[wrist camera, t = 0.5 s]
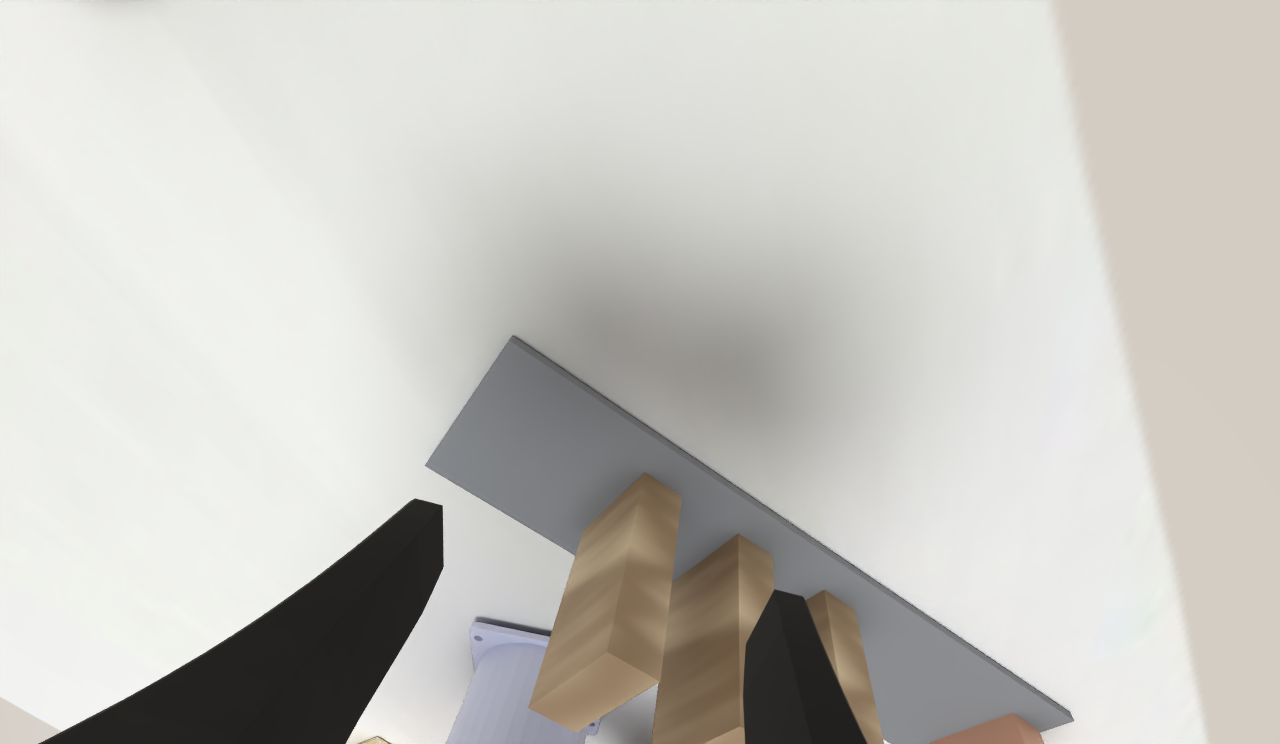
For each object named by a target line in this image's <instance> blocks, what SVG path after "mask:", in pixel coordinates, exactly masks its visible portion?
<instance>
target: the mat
mask: <svg viewBox="0 0 1280 744" xmlns="http://www.w3.org/2000/svg"><path fill="white" fill-rule="evenodd" d="M425 466H426V467H428V468H429V469H431V470H433V471H435V472H436V473H438V474H440V475H441V476H443V477H445V478H446V479H448V480H450V481H451V482H453V483H455V484H456V485H458V486H460V487H461V488H463V489H465V490H466V491H468V492H470V493H471V494H473V495H475V496H476V497H478V498H480V499H481V500H483V501H485V502H487V503H488V504H490V505H492V506H493V507H495V508H497V509H498V510H500V511H502V512H503V513H505V514H507V515H508V516H510V517H512V518H513V519H515V520H517V521H518V522H520V523H522V524H523V525H525V526H527V527H528V528H530V529H532V530H534V531H535V532H537V533H539V534H540V535H542V536H544V537H545V538H547V539H549V540H550V541H552V542H554V543H555V544H557V545H559V546H560V547H562V548H564V549H565V550H567V551H569V552H570V553H572V554H574V555H575V556H576V553H577V549H578V546H579V543H580V540H581V537H582V533H583V531H584V530H585V529H586V528H587V527H588V526H589V525H590V524H591V523H592V522H593V521H594V520H595V519H596V518H597V517H598V516H599V515H600V514H602V513H603V512H604V511H605V510H606V509H607V508H608V507H609V506H610V505H611V504H612V503H613V502H614V501H615V500H616V499H617V498H618V497H619V496H620V495H621V494H623V493H624V492H625V491H626V490H627V489H628V488H629V487H630V486H631V485H632V484H633V483H634V482H635V481H636V480H637V479H638V478H639V477H640V476H641V475H642V474H643V473H647V474H649V475H650V476H652V477H653V478H655V479H656V480H658V481H659V482H661V483H662V484H664V485H665V486H667V487H668V488H670V489H671V490H673V491H675V492H676V493H678V494H679V495H681V496H682V500H681V508H680V517H679V525H678V534H677V543H676V551H675V560H674V568H673V577H672V582H674V581H675V580H676V579H678V578H679V577H680V576H682V575H683V574H685V573H686V572H687V571H689V570H690V569H691V568H693V567H694V566H695V565H697V564H698V563H699V562H701V561H702V560H703V559H705V558H706V557H707V556H709V555H710V554H711V553H713V552H714V551H715V550H717V549H718V548H719V547H721V546H722V545H723V544H725V543H726V542H727V541H729V540H730V539H732V538H733V537H734V536H736V535H737V534H738V533H739V534H740V535H742V536H743V537H745V538H746V539H748V540H749V541H751V542H752V543H754V544H755V545H757V546H759V547H760V548H762V549H763V550H765V551H766V552H768V553H769V554H771V555H772V559H773V572H774V586H775V589H776V590H780V591H784V592H788V593H792V594H796V595H800V596H803V597H804V599H805V600H807V599H809V598H811V597H812V596H814V595H816V594H817V593H819V592H821V591H822V590H826V591H827V592H829V593H830V594H832V595H833V596H835V597H836V598H838V599H839V600H841V601H843V602H844V603H846V604H847V605H849V606H850V607H852V608H853V609H855V611H856V616H857V621H858V625H859V630H860V635H861V639H862V644H863V649H864V653H865V658H866V663H867V667H868V672H869V677H870V681H871V686H872V691H873V695H874V700H875V705H876V709H877V714H878V719H879V723H880V728H881V733H882V738H883V739H884V740H886V741H888V742H889V743H891V744H930V742H932V741H935V740H938V739H941V738H944V737H946V736H949V735H952V734H955V733H958V732H960V731H963V730H966V729H969V728H971V727H974V726H977V725H980V724H983V723H985V722H988V721H991V720H994V719H997V718H999V717H1002V716H1005V715H1008V714H1010V713H1014V714H1015V715H1017V716H1018V717H1020V718H1021V719H1023V720H1024V721H1026V722H1027V723H1029V724H1030V725H1032V726H1034V727H1035V728H1037V729H1038V731H1039V733H1040V732H1043V731H1046V730H1049V729H1052V728H1055V727H1058V726H1061V725H1064V724H1067V723H1070V722H1073V721H1074V719H1073V717H1072V715H1071V713H1070V712H1069V711H1067V710H1066V709H1064V708H1063V707H1061V706H1060V705H1058V704H1057V703H1055V702H1054V701H1052V700H1051V699H1049V698H1048V697H1046V696H1045V695H1043V694H1042V693H1040V692H1039V691H1037V690H1036V689H1035V688H1033V687H1032V686H1030V685H1029V684H1027V683H1026V682H1024V681H1023V680H1021V679H1020V678H1018V677H1017V676H1015V675H1014V674H1012V673H1011V672H1009V671H1008V670H1006V669H1005V668H1003V667H1002V666H1001V665H999V664H998V663H996V662H995V661H993V660H992V659H990V658H989V657H987V656H986V655H984V654H983V653H981V652H980V651H978V650H977V649H975V648H974V647H972V646H971V645H969V644H968V643H967V642H965V641H964V640H962V639H961V638H959V637H958V636H956V635H955V634H953V633H952V632H950V631H949V630H947V629H946V628H944V627H943V626H941V625H940V624H938V623H937V622H935V621H934V620H933V619H931V618H930V617H928V616H927V615H925V614H924V613H922V612H921V611H919V610H918V609H916V608H915V607H913V606H912V605H910V604H909V603H907V602H906V601H904V600H903V599H901V598H900V597H898V596H897V595H896V594H894V593H893V592H891V591H890V590H888V589H887V588H885V587H884V586H882V585H881V584H879V583H878V582H876V581H875V580H873V579H872V578H870V577H869V576H867V575H866V574H864V573H863V572H862V571H860V570H859V569H857V568H856V567H854V566H853V565H851V564H850V563H848V562H847V561H845V560H844V559H842V558H841V557H839V556H838V555H836V554H835V553H833V552H832V551H830V550H829V549H828V548H826V547H825V546H823V545H822V544H820V543H819V542H817V541H816V540H814V539H813V538H811V537H810V536H808V535H807V534H805V533H804V532H802V531H801V530H799V529H798V528H796V527H795V526H794V525H792V524H791V523H789V522H788V521H786V520H785V519H783V518H782V517H780V516H779V515H777V514H776V513H774V512H773V511H771V510H770V509H768V508H767V507H765V506H764V505H762V504H761V503H760V502H758V501H757V500H755V499H754V498H752V497H751V496H749V495H748V494H746V493H745V492H743V491H742V490H740V489H739V488H737V487H736V486H734V485H733V484H731V483H730V482H728V481H727V480H726V479H724V478H723V477H721V476H720V475H718V474H717V473H715V472H714V471H712V470H711V469H709V468H708V467H706V466H705V465H703V464H702V463H700V462H699V461H697V460H696V459H694V458H693V457H692V456H690V455H689V454H687V453H686V452H684V451H683V450H681V449H680V448H678V447H677V446H675V445H674V444H672V443H671V442H669V441H668V440H666V439H665V438H663V437H662V436H660V435H659V434H658V433H656V432H655V431H653V430H652V429H650V428H649V427H647V426H646V425H644V424H643V423H641V422H640V421H638V420H637V419H635V418H634V417H632V416H631V415H629V414H628V413H626V412H625V411H624V410H622V409H621V408H619V407H618V406H616V405H615V404H613V403H612V402H610V401H609V400H607V399H606V398H604V397H603V396H601V395H600V394H598V393H597V392H595V391H594V390H592V389H591V388H589V387H588V386H587V385H585V384H584V383H582V382H581V381H579V380H578V379H576V378H575V377H573V376H572V375H570V374H569V373H567V372H566V371H564V370H563V369H561V368H560V367H558V366H557V365H555V364H554V363H553V362H551V361H550V360H548V359H547V358H545V357H544V356H542V355H541V354H539V353H538V352H536V351H535V350H533V349H532V348H530V347H529V346H527V345H526V344H524V343H523V342H521V341H520V340H519V339H517V338H516V337H514V336H512V337H511V339H510V340H509V342H508V343H507V344H506V346H505V347H504V349H503V350H502V352H501V353H500V355H499V356H498V358H497V359H496V361H495V362H494V364H493V365H492V367H491V368H490V370H489V371H488V373H487V374H486V376H485V377H484V379H483V380H482V382H481V383H480V385H479V386H478V388H477V389H476V391H475V392H474V394H473V395H472V396H471V398H470V399H469V401H468V402H467V404H466V405H465V407H464V408H463V410H462V411H461V413H460V414H459V416H458V417H457V419H456V420H455V422H454V423H453V425H452V426H451V428H450V429H449V431H448V432H447V434H446V435H445V437H444V438H443V440H442V441H441V443H440V444H439V446H438V447H437V448H436V450H435V451H434V453H433V454H432V456H431V457H430V459H429V460H428V462H427V463H426V465H425Z"/></svg>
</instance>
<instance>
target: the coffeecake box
mask: <svg viewBox="0 0 1280 744" xmlns="http://www.w3.org/2000/svg"><path fill="white" fill-rule="evenodd" d="M361 744H389V743H387V742H386V741H384V740H383V739H381V738H379V737H376V738H372V739H370V740H367V741H364V742H363V743H361Z"/></svg>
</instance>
